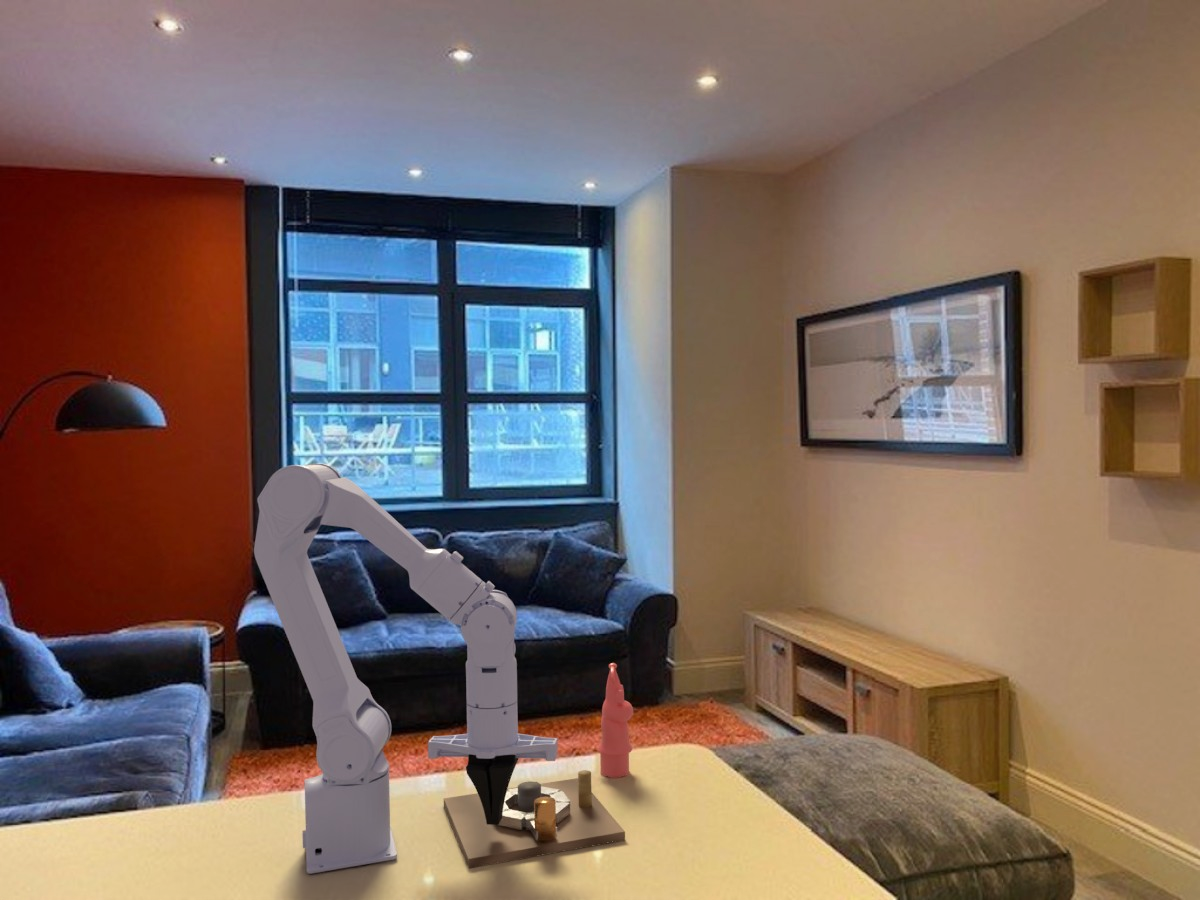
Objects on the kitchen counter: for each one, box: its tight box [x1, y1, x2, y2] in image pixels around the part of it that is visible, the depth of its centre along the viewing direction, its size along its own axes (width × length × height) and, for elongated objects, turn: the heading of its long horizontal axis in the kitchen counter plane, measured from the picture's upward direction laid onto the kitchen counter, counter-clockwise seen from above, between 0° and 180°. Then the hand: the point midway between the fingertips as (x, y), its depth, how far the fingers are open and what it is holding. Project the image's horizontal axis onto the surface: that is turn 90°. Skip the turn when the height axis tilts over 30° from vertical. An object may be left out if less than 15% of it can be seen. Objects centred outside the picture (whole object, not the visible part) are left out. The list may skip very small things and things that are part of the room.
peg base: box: [443, 769, 626, 869], centre depth 105 cm, size 18×17×5 cm
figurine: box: [596, 662, 634, 778], centre depth 120 cm, size 5×5×15 cm
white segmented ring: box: [498, 786, 570, 841], centre depth 103 cm, size 13×9×4 cm
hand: (494, 820), depth 99 cm, fingers closed
